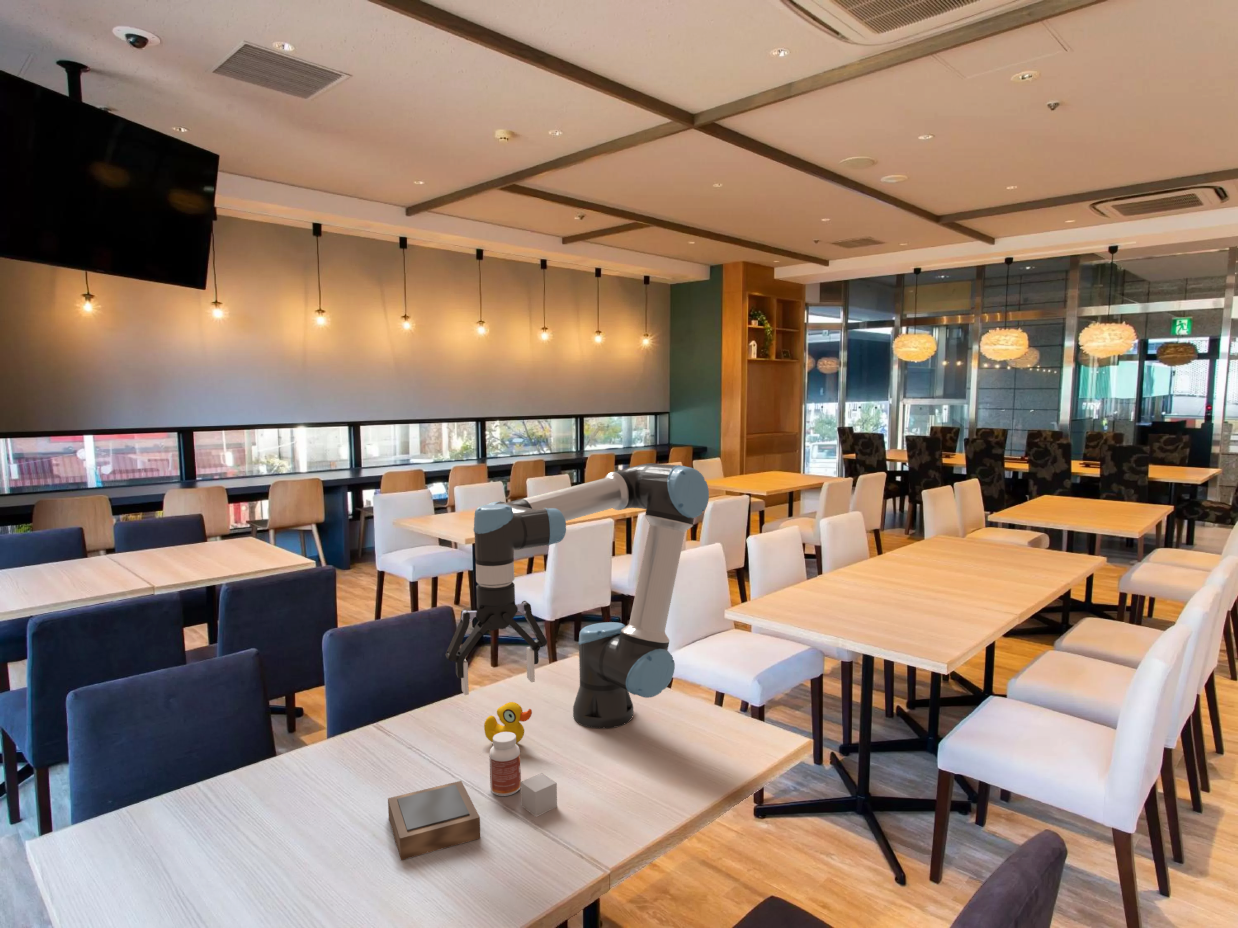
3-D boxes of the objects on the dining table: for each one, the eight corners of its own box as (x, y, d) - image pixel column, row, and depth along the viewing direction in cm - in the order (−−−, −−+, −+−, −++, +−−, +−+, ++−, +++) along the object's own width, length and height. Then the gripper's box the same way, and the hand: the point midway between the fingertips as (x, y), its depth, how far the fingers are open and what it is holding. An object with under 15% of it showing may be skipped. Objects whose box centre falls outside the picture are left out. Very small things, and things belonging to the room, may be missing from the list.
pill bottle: (526, 790, 146) (525, 738, 145) (498, 800, 143) (496, 746, 142) (513, 777, 151) (511, 726, 150) (485, 786, 148) (484, 734, 147)
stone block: (542, 796, 144) (541, 772, 144) (557, 807, 140) (556, 782, 140) (521, 805, 141) (520, 781, 140) (535, 816, 137) (535, 791, 137)
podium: (461, 799, 143) (461, 778, 143) (480, 837, 130) (479, 815, 130) (388, 818, 137) (387, 796, 136) (400, 860, 124) (399, 836, 124)
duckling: (536, 741, 167) (535, 699, 166) (528, 752, 162) (528, 709, 161) (489, 737, 169) (488, 696, 168) (481, 748, 164) (479, 705, 163)
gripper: (548, 571, 152) (550, 668, 154) (428, 586, 141) (432, 690, 143) (560, 579, 145) (563, 680, 147) (435, 595, 134) (440, 705, 136)
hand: (498, 686), depth 145 cm, fingers open, 13 cm apart
